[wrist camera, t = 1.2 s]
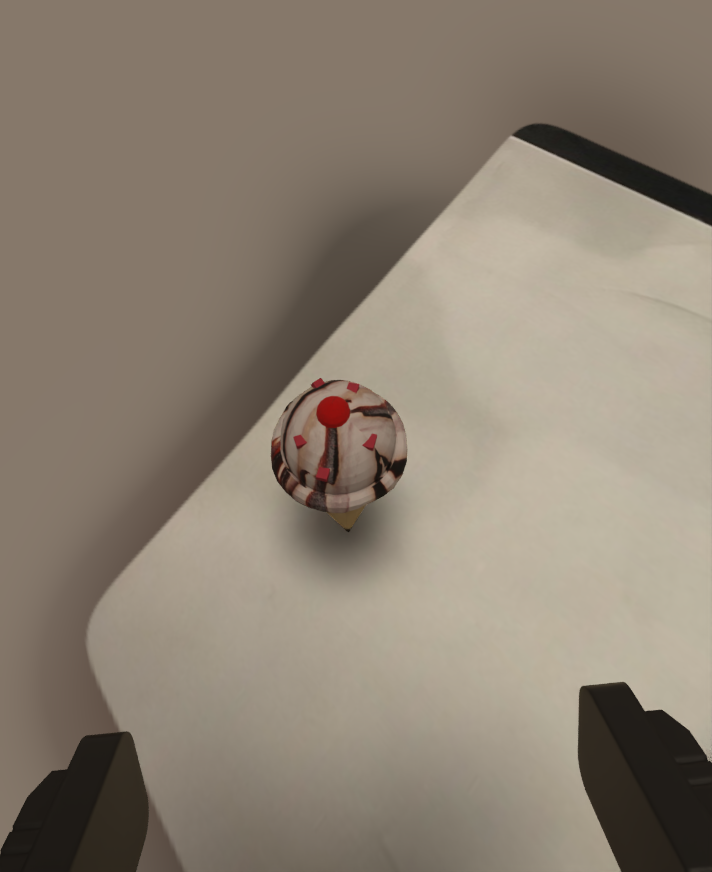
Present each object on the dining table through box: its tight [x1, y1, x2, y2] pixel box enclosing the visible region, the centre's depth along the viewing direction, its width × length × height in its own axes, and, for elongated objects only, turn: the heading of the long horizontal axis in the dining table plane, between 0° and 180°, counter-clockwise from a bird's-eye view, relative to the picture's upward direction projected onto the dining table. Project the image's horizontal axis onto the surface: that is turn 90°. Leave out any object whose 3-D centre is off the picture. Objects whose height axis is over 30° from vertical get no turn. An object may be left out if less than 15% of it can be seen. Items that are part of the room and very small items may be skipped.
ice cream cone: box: [271, 378, 407, 532], centre depth 31 cm, size 6×6×15 cm
